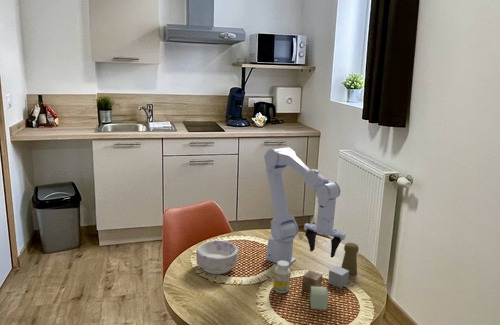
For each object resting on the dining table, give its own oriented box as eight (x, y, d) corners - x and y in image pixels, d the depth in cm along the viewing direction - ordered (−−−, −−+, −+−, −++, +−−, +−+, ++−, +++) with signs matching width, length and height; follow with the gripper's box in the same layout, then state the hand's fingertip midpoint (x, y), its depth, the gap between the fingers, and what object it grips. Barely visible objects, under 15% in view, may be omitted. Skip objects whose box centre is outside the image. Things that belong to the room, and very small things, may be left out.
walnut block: (301, 289, 141) (302, 275, 139) (308, 283, 145) (309, 270, 143) (315, 293, 138) (316, 280, 137) (321, 287, 142) (322, 274, 141)
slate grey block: (327, 283, 145) (329, 270, 144) (335, 278, 149) (336, 265, 148) (340, 288, 142) (341, 275, 141) (347, 283, 146) (349, 270, 145)
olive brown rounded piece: (357, 276, 151) (360, 248, 149) (340, 273, 152) (343, 246, 150) (356, 268, 157) (359, 241, 154) (340, 266, 158) (343, 239, 155)
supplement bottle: (283, 295, 136) (285, 268, 134) (270, 289, 139) (271, 263, 137) (292, 289, 140) (294, 263, 138) (279, 283, 143) (281, 257, 141)
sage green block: (311, 308, 129) (312, 294, 128) (309, 300, 134) (310, 286, 133) (327, 310, 129) (328, 295, 128) (325, 301, 134) (326, 287, 133)
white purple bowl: (189, 274, 146) (189, 253, 145) (205, 256, 161) (205, 237, 159) (230, 282, 143) (230, 261, 141) (242, 262, 157) (243, 243, 155)
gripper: (301, 215, 142) (298, 251, 145) (341, 225, 134) (337, 263, 137) (310, 209, 147) (307, 245, 151) (349, 219, 140) (345, 256, 143)
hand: (322, 253), depth 144 cm, fingers open, 7 cm apart
